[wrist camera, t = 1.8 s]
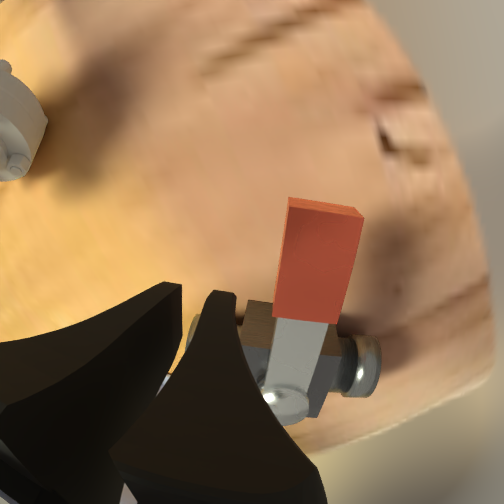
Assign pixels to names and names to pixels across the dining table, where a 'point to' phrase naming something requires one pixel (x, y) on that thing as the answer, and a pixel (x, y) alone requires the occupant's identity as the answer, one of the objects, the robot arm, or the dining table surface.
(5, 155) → the grey rounded housing
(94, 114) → the dining table surface
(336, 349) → the pipe valve
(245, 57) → the dining table surface
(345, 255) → the valve lever
